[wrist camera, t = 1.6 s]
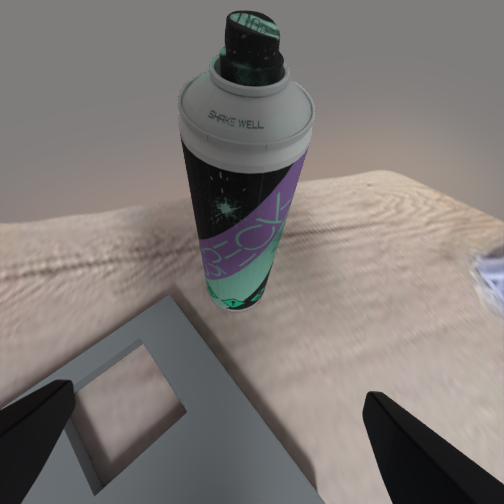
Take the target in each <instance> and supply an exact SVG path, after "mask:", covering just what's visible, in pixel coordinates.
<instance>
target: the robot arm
mask: <svg viewBox="0 0 504 504" xmlns="http://www.w3.org/2000/svg"><path fill="white" fill-rule="evenodd" d="M74 407H75V394H74V386H73V382H72V381H71V380H69V379H56V380H54V381H52V382H50V383H48V384H47V385H45V386H43V387H41V388H39V389H38V390H36V391H34V392H32V393H30V394H28V395H27V396H25V397H23V398H21V399H19V400H18V401H16V402H14V403H12V404H10V405H9V406H7V407H5V408H3V409H1V410H0V504H21V503H22V501H23V500H24V498H25V497H26V495H27V494H28V492H29V490H30V489H31V487H32V486H33V484H34V482H35V481H36V479H37V477H38V476H39V474H40V473H41V471H42V469H43V467H44V466H45V464H46V462H47V460H48V458H49V456H50V454H51V452H52V451H53V449H54V447H55V445H56V443H57V441H58V439H59V437H60V435H61V433H62V431H63V429H64V428H65V426H66V424H67V422H68V420H69V418H70V416H71V414H72V412H73V410H74ZM362 415H363V421H364V424H365V427H366V430H367V433H368V437H369V440H370V443H371V446H372V449H373V452H374V455H375V458H376V461H377V464H378V467H379V470H380V473H381V476H382V479H383V481H384V484H385V486H386V489H387V491H388V494H389V496H390V498H391V501H392V503H393V504H504V484H503V483H501V482H500V481H499V480H497V479H496V478H495V477H493V476H492V475H491V474H489V473H488V472H487V471H485V470H484V469H483V468H482V467H480V466H479V465H478V464H476V463H475V462H474V461H472V460H471V459H470V458H468V457H467V456H466V455H464V454H463V453H462V452H460V451H459V450H458V449H456V448H455V447H454V446H452V445H451V444H450V443H449V442H447V441H446V440H445V439H443V438H442V437H441V436H439V435H438V434H437V433H435V432H434V431H433V430H431V429H430V428H429V427H427V426H426V425H425V424H423V423H422V422H421V421H420V420H418V419H417V418H416V417H414V416H413V415H412V414H410V413H409V412H408V411H406V410H405V409H404V408H402V407H401V406H400V405H398V404H397V403H396V402H394V401H393V400H392V399H391V398H389V397H388V396H387V395H385V394H384V393H382V392H377V391H370V392H368V393H367V395H366V399H365V403H364V408H363V414H362Z"/></svg>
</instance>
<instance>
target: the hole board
mask: <svg viewBox="0 0 504 504" xmlns="http://www.w3.org/2000/svg"><path fill="white" fill-rule="evenodd" d="M142 344H144V345H145V347H146V348H147V350H148V351H149V353H150V355H151V356H152V358H153V359H154V361H155V362H156V364H157V365H158V367H159V369H160V370H161V372H162V373H163V375H164V376H165V378H166V380H167V381H168V383H169V384H170V386H171V387H172V389H173V390H174V392H175V394H176V395H177V397H178V398H179V400H180V401H181V403H182V404H183V406H184V408H185V409H186V411H187V413H186V414H185V415H184V416H182V417H181V418H180V419H179V420H178V421H177V422H176V423H175V424H174V425H173V426H171V427H170V428H169V429H168V430H167V431H166V432H165V433H164V434H163V435H162V436H160V437H159V438H158V439H157V440H156V441H155V442H154V443H153V444H152V445H151V446H150V447H148V448H147V449H146V450H145V451H144V452H143V453H142V454H141V455H140V456H139V457H137V458H136V459H135V460H134V461H133V462H132V463H131V464H130V465H129V466H128V467H126V468H125V469H124V470H123V471H122V472H121V473H120V474H119V475H118V476H117V477H116V478H114V479H113V480H112V481H111V482H110V483H109V484H108V485H107V486H106V487H105V488H103V486H102V484H101V481H100V479H99V477H98V475H97V473H96V471H95V468H94V466H93V464H92V462H91V460H90V458H89V456H88V453H87V451H86V449H85V447H84V445H83V443H82V440H81V438H80V436H79V434H78V432H77V430H76V427H75V425H74V423H73V421H72V419H71V417H70V418H69V420H68V422H67V424H66V426H65V428H64V429H63V431H62V433H61V435H60V437H59V439H58V441H57V443H56V445H55V447H54V449H53V451H52V452H51V454H50V456H49V458H48V460H47V462H46V464H45V466H44V467H43V469H42V471H41V473H40V474H39V476H38V477H37V479H36V481H35V482H34V484H33V486H32V487H31V489H30V490H29V492H28V494H27V495H26V497H25V498H24V500H23V501H22V503H21V504H325V502H324V501H323V500H322V498H321V497H320V496H319V494H318V493H317V492H316V490H315V489H314V487H313V486H312V485H311V483H310V482H309V481H308V479H307V478H306V477H305V475H304V474H303V473H302V471H301V470H300V469H299V467H298V466H297V465H296V463H295V462H294V461H293V459H292V458H291V457H290V455H289V454H288V453H287V451H286V450H285V449H284V447H283V446H282V445H281V443H280V442H279V441H278V439H277V438H276V437H275V435H274V434H273V433H272V431H271V430H270V429H269V427H268V426H267V425H266V423H265V422H264V421H263V419H262V418H261V417H260V415H259V414H258V412H257V411H256V410H255V408H254V407H253V406H252V404H251V403H250V402H249V400H248V399H247V398H246V396H245V395H244V394H243V392H242V391H241V390H240V388H239V387H238V386H237V384H236V383H235V382H234V380H233V379H232V378H231V376H230V375H229V374H228V372H227V371H226V370H225V368H224V367H223V366H222V364H221V363H220V362H219V360H218V359H217V358H216V356H215V355H214V354H213V352H212V351H211V350H210V348H209V347H208V346H207V344H206V343H205V342H204V340H203V339H202V338H201V336H200V335H199V333H198V332H197V331H196V329H195V328H194V327H193V325H192V324H191V323H190V321H189V320H188V319H187V317H186V316H185V315H184V313H183V312H182V311H181V309H180V308H179V307H178V305H177V304H176V303H175V301H174V300H173V299H172V297H171V296H170V295H167V296H166V297H164V298H163V299H161V300H160V301H158V302H157V303H155V304H154V305H152V306H151V307H150V308H148V309H147V310H145V311H144V312H142V313H141V314H139V315H138V316H136V317H135V318H133V319H132V320H130V321H129V322H127V323H126V324H125V325H123V326H122V327H120V328H119V329H117V330H116V331H114V332H113V333H111V334H110V335H108V336H107V337H105V338H104V339H103V340H101V341H100V342H98V343H97V344H95V345H94V346H92V347H91V348H89V349H88V350H86V351H85V352H83V353H82V354H80V355H79V356H78V357H76V358H75V359H73V360H72V361H70V362H69V363H67V364H66V365H64V366H63V367H61V368H60V369H58V370H57V371H56V372H54V373H53V374H51V375H50V376H48V377H47V378H45V379H44V380H42V381H41V382H39V383H38V384H36V385H35V386H33V387H32V388H31V389H29V390H28V391H26V392H25V393H23V394H22V395H20V396H19V397H17V398H16V399H14V400H13V401H11V402H10V403H9V404H7V405H6V406H4V407H3V408H5V407H7V406H9V405H10V404H12V403H14V402H16V401H18V400H19V399H21V398H23V397H25V396H27V395H28V394H30V393H32V392H34V391H36V390H38V389H39V388H41V387H43V386H45V385H47V384H48V383H50V382H52V381H54V380H56V379H69V380H71V381H72V382H73V386H74V394H75V393H76V392H77V391H79V390H80V389H81V388H83V387H84V386H86V385H87V384H88V383H90V382H91V381H92V380H94V379H95V378H96V377H98V376H99V375H101V374H102V373H103V372H105V371H106V370H107V369H109V368H110V367H111V366H113V365H114V364H116V363H117V362H118V361H120V360H121V359H122V358H124V357H125V356H127V355H128V354H129V353H131V352H132V351H133V350H135V349H136V348H137V347H139V346H140V345H142ZM3 408H1V409H3ZM1 409H0V410H1Z"/></svg>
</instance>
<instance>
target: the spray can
mask: <svg viewBox="0 0 504 504" xmlns="http://www.w3.org/2000/svg"><path fill="white" fill-rule="evenodd" d="M279 42H280V33H279V30H278V27H277V25H276V24H275V23H274V21H273V20H272V19H270V18H269V17H268V16H266V15H264V14H262V13H259V12H254V11H235V12H232V13H230V14H229V15H228V16H227V19H226V29H225V47H223V48H222V49H221V51H220V54H218V55H216V56H215V57H214V58H212V60H211V61H210V64H209V70H208V71H206V72H203V73H201V74H199V75H197V76H195V77H193V78H192V79H190V80H189V81H188V82H187V83H186V84H185V85H184V86H183V88H182V89H181V90H180V93H179V96H178V107H179V113H180V115H179V130H180V136H181V142H182V147H183V152H184V158H185V164H186V170H187V175H188V181H189V186H190V192H191V198H192V204H193V209H194V215H195V221H196V226H197V232H198V238H199V243H200V249H201V255H202V260H203V266H204V272H205V277H206V283H207V289H208V292H209V295H210V297H211V299H212V301H213V302H214V303H215V304H216V305H217V306H219V307H220V308H222V309H224V310H226V311H230V312H243V311H246V310H248V309H250V308H252V307H254V306H255V305H256V304H257V303H258V302H259V300H260V299H261V297H262V295H263V293H264V289H265V286H266V283H267V280H268V276H269V273H270V270H271V267H272V263H273V260H274V257H275V254H276V250H277V247H278V244H279V241H280V238H281V234H282V231H283V228H284V225H285V221H286V218H287V215H288V212H289V208H290V205H291V202H292V199H293V195H294V192H295V189H296V186H297V182H298V179H299V176H300V173H301V169H302V166H303V162H304V160H305V156H306V153H307V150H308V147H309V143H310V140H311V136H312V124H313V121H314V116H315V105H314V102H313V100H312V98H311V96H310V95H309V94H308V93H307V91H306V90H305V89H304V88H303V87H301V86H300V85H299V84H298V83H296V82H294V81H293V80H291V79H290V78H289V76H290V71H289V68H288V66H287V65H286V64H285V62H284V58H283V56H282V55H281V53H280V52H279Z"/></svg>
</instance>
